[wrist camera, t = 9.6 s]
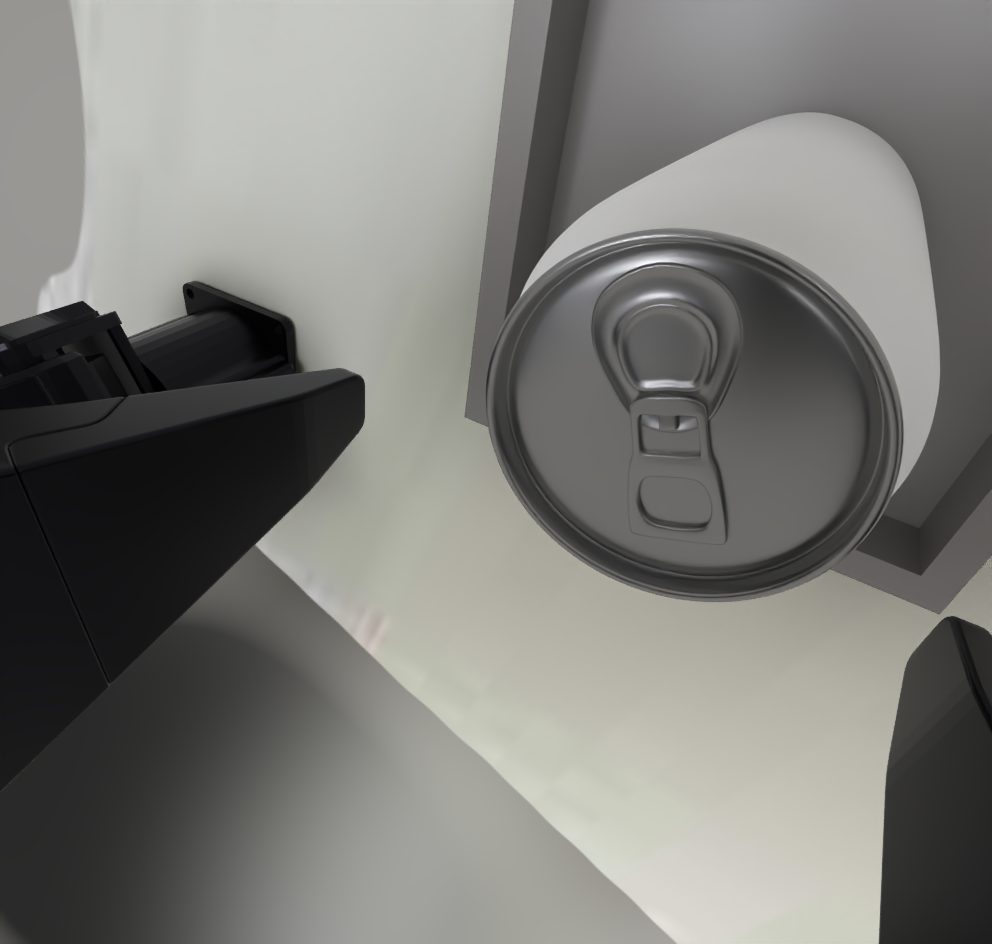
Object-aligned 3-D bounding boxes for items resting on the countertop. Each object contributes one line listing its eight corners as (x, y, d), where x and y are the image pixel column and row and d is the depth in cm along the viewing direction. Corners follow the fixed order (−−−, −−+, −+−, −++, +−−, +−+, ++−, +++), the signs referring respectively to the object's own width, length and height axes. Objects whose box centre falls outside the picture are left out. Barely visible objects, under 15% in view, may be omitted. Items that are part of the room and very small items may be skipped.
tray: (502, 384, 25) (464, 417, 23) (592, -183, 15) (541, -220, 13) (934, 553, 20) (939, 614, 18) (1469, -113, 11) (1620, -156, 8)
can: (938, 82, 14) (999, 135, 6) (908, 352, 17) (917, 666, 9) (657, 137, 18) (414, 227, 9) (672, 357, 21) (503, 587, 12)
